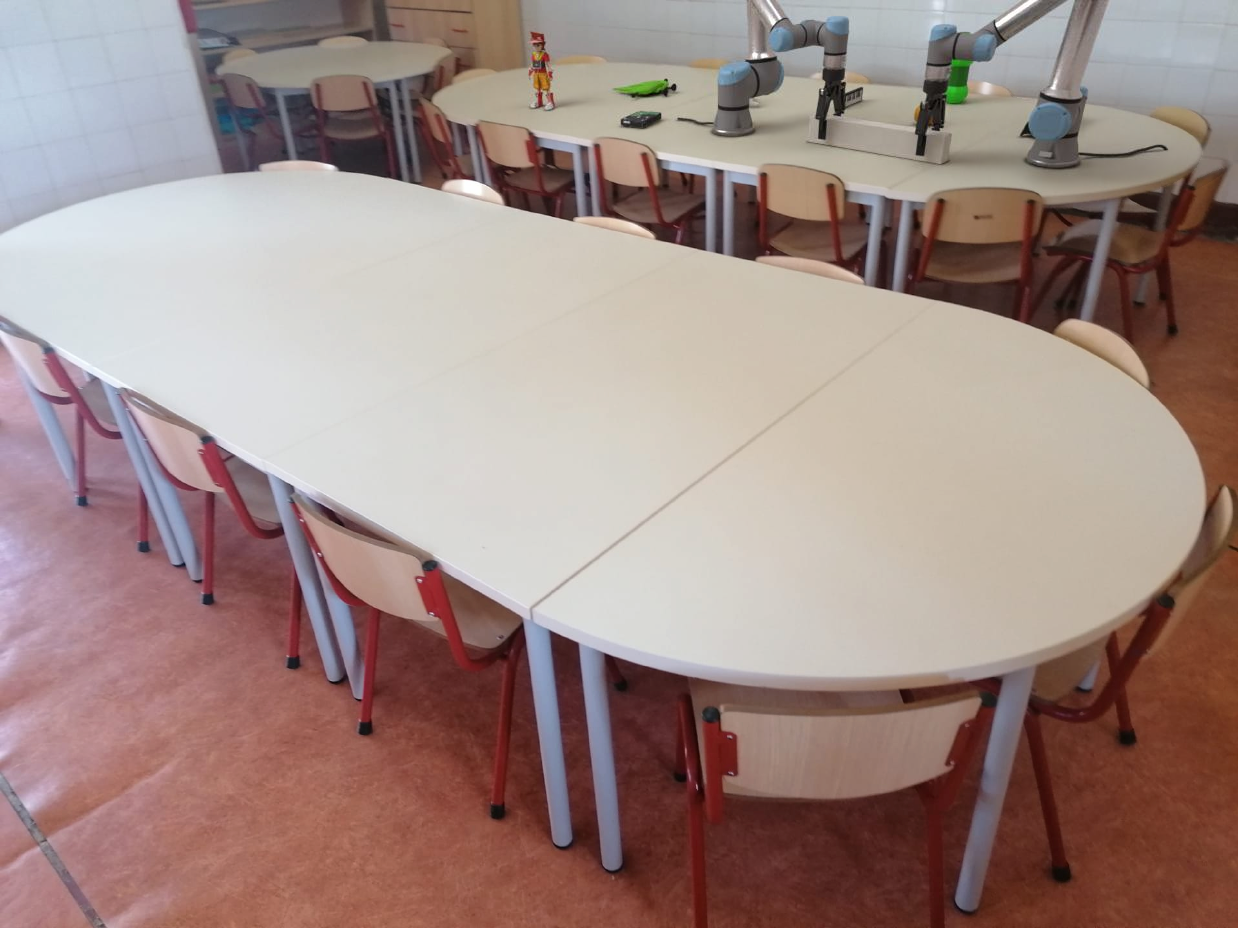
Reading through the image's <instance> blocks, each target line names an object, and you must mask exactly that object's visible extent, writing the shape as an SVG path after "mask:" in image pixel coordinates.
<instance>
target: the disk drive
mask: <svg viewBox="0 0 1238 928" xmlns="http://www.w3.org/2000/svg"><path fill="white" fill-rule="evenodd" d="M661 119H663V118H662V112H659V111H652V110H651V111H645V110H638V111H636V112H633V113H631V114H629V115H627V116H624V117H622V118H620V126H622V127H628V128H629V127H630V128H640V129H644V128H645V127H648V126H650V125H652V124H654V123H656V122H658V121H660V120H661Z"/></svg>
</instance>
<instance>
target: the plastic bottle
mask: <svg viewBox="0 0 1238 928" xmlns="http://www.w3.org/2000/svg"><path fill="white" fill-rule="evenodd" d="M958 33H968V34H971V32H970V31H959V32H958ZM973 63H974V61H965V60H952V64H951V70H952V71H951V72H950V76H949V78H948V80H949V84H948V91H947V92H946V93H944V94H947V99H946V103H948V104H960V103H961V102H963V101H964V100H966V98H967V96H968V95H969V85H968V79H969V73H970V67H971V65H972V64H973Z"/></svg>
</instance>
